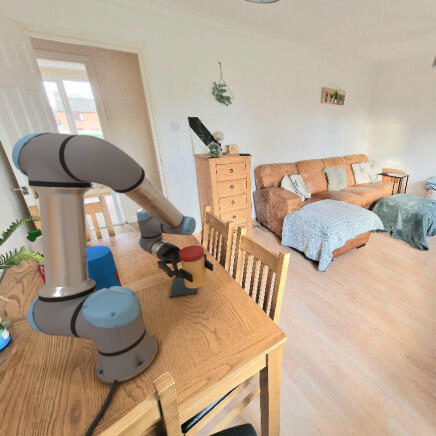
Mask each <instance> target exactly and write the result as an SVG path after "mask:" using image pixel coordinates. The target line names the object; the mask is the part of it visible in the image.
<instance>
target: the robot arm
mask: <svg viewBox="0 0 436 436" xmlns="http://www.w3.org/2000/svg"><path fill="white" fill-rule="evenodd" d="M11 160H12V163H13V165H14V168H16V170H19V171H20V173H21V174H22V175H23V176H25V177H27V180H28V181H27V182H28V187H29V188H30V189H31V190H33V191H34V192H36V193H37V195H38V205H39V218H40V230H41V231H42V244H43V256H44V268H45V281H46V284H45V283H44V285H43V286H42V287H41V288H39V290H38V291H37V296H36V297H34V299H33V300H32V304H30V305H29V306H28V308H27V313H26V319H27V323H28V324H29V327H30V328H32V330H34V331H36V332H38V333H41V334H45V335H46V336H47V335H49V336H55V337H56V336H58V337H59V336H60V337H68V338H75V339H84V340H92V341H93V342H94V345H95V348H96V349H97V350H96V351H97V357H96V364H95V372H96V376H97V378H98V379H99V381H100V382H101V383H104V384H106V385H111V386H110V389H109V391H108V394H107V396H106V399H105V401H104V403H103V405H102V407H101V409H100V410H99V412H98V413H97V415H96V416H95V418H94V420H93V421H92V422H91V424H90V426H89V427H88V429H87V431H86V432H85V433H84V436H91V433H92V432H93V431H94V429H95V427H96V426H97V424H98V422H99V421H100V419H102V416H103V415H104V414H105V411H106V409H107V407H108V406H109V404H110V402H111V400H112V397H113V394H114V392H115V389H116V387H117V385H119V384H124V383H126V382H129V381H131V380H134V379H136V378H138V377H139V376H140V375H141V374H142V373H144V372H146V370H147V369H148V368H149V367H151V365H152V364H153V362H154V361H155V360H156V357H157V355H158V352H159V347H158V343H157V340H156V338H155V335H154V334H153V335H152V334H151V333H150V332H149V331H148V329H146V325H145V324H146V323H145V321H144V315H143V311H142V307H141V306H142V305H141V302H140V300H139V298H138V296H137V294H136V293H135V291H134V290H133V289H131V288H129V287H126V286H122V285H121V286H122V287H121V286H114V287H110V288H109V289H107V288H104V289H101V290H99V291H97V292H96V282H95V280H93V279H91V278H89V276H88V258H87V245H88V244H87V243H88V242H87V225H86V210H85V209H86V205H85V194H86V193H87V192H89V191H90V190H91V189H92V183H93V184H98V185H102V186H105V187H107V188H110V190H112V191H113V192H115V193H117V194H123V195H125V197H126V196H127V198H128V199H130V200H131V201H132V202H134V203H135V204H136V205H137V206H139V207H140V209H138V210H137V211H136V219H137V221H136V222H137V224H138V229H139V232H140V236H139V239H138V246H139V247H140V248H141V249H142V250H143V251H145V252H146V253H148V254H150V255H151V256H153V257H155V258H156V259H158V260H157V261H156V262H157V267H158V269H161V270H162V271H163V272H164V273H165V275H166V276H168V278H170V279H173V278H174V277H175V276H176V278H179V277H180V278H181V279H183V278H185V279H186V280H188V281H189V282H191V283H192V282H193V276H192V275H191V274H190V273H188V272H186V271H185V270H183V269H182V267H181V268H179V266H178V264H179V263H181V260H180V257H179V251H180V250H181V248H180V247H179V246H177V245H175V244H174V243H172V242H170V241H168V240H167V239H164V238H163V234H167V235H177V236H191V235H193V234H194V233H195V230H196V227H197V221H196V219H195V218H194V217H193V216H189V215H184V214H183V213H182V212H181V211H180V210H179V209H178V208H177V207H176V206H175V205H174V204H173V203H172V202H171V201H170V200H169V199H168V198H167V197H166V196H165V195H164V194H163V193H162V191H160V189H159V188H157V186H156V185H154V183H153V182H151V180H150V179H149V178H148V177H147V175H146V171H145V170H144V168H143V167H142V166H141V164H139V163H138V162H137V161H136V160H135V159H134V158H133V157H131V155H129V153H127V152H125V151H124V150H123V149H121V148H119V147H118V146H116V145H115V144H113V143H111V142H110V141H108V140H106V139H103V138H101V137H98V136H95V135H90V134H74V133H73V134H71V133H61V132H60V133H59V132H46V131H45V132H34V133H29V134H26V135H24V136H23V137H21V138H19V139H18V140H17V141H16V142H15V144H14V145H13V147H12V151H11ZM204 261H205V269H207V270H209V271H211V272H213V271H214V264H213V262H210V260H208V258H207V253H205V252H204ZM168 265H171V266H172V268H171V267H170V266H168Z"/></svg>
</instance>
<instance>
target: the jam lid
mask: <svg viewBox="0 0 436 436" xmlns="http://www.w3.org/2000/svg"><path fill="white" fill-rule="evenodd" d="M204 253H205V248H204V247H203V246H201V245H196V244H195V245H194V244H193V245H188V246H185V247H183V248H180V251H179V257H180V260H182V261H184V262H194V261H197V260H200V259H201V258H203V256H204Z"/></svg>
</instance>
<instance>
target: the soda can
mask: <svg viewBox="0 0 436 436" xmlns="http://www.w3.org/2000/svg"><path fill="white" fill-rule="evenodd" d="M37 270H38V271H39V272H38V273H39V274H40V276H41V279H42V281H43V283H44V285H45V284H46V281H45V268H44V264H41V263H39V262H38V263H37Z"/></svg>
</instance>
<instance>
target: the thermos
mask: <svg viewBox="0 0 436 436" xmlns="http://www.w3.org/2000/svg"><path fill="white" fill-rule="evenodd" d="M87 258H88V276H89V278H91V279H93V280H95V282H96V292H97V291H99V290H101V289H104V288H107V289H109V288H110V287H114V286H121V287H123V285H122V282H121V279H120V275H119V272H118V268H117V264H116V260H115V257H114V254H113V252H112V250H111V247H110V246H107V245H94V246H93V247H89V248H87Z"/></svg>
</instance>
